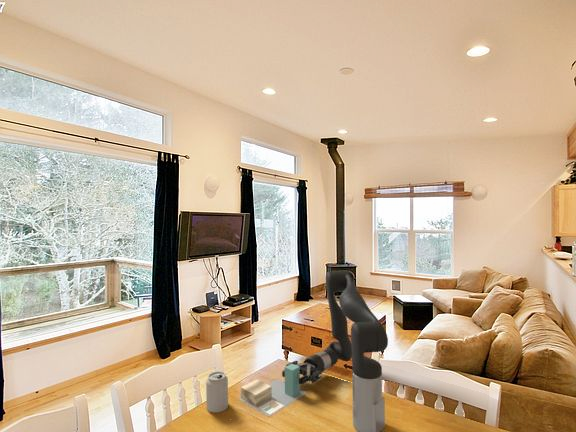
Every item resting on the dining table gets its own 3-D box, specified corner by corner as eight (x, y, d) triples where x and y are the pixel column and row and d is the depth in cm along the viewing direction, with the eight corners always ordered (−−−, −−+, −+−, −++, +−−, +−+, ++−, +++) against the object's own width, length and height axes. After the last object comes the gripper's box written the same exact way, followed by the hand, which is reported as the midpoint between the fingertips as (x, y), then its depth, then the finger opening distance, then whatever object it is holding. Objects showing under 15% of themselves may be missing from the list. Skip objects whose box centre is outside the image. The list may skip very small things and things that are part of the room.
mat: (307, 394, 127) (307, 392, 127) (269, 419, 112) (269, 416, 112) (277, 380, 138) (277, 378, 138) (238, 401, 123) (238, 398, 123)
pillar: (299, 393, 127) (299, 366, 127) (292, 397, 124) (292, 370, 124) (292, 389, 129) (291, 363, 129) (284, 393, 126) (284, 367, 126)
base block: (271, 397, 124) (271, 386, 124) (255, 406, 118) (255, 395, 118) (257, 389, 130) (257, 379, 130) (241, 397, 124) (240, 387, 124)
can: (225, 415, 115) (225, 380, 115) (204, 415, 115) (203, 380, 115) (230, 402, 122) (229, 369, 122) (209, 402, 122) (209, 369, 122)
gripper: (304, 349, 143) (277, 362, 131) (331, 359, 133) (305, 374, 121) (304, 367, 143) (277, 381, 131) (332, 378, 133) (305, 394, 121)
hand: (291, 378), depth 126 cm, fingers open, 8 cm apart
